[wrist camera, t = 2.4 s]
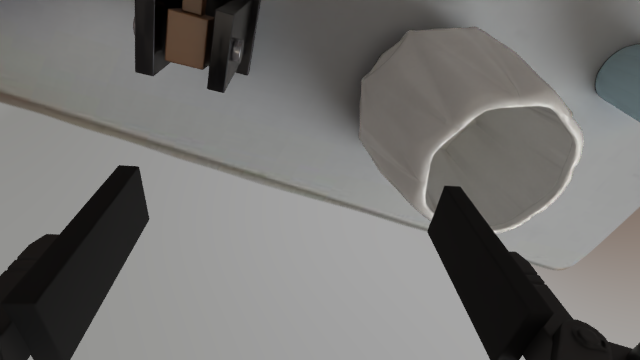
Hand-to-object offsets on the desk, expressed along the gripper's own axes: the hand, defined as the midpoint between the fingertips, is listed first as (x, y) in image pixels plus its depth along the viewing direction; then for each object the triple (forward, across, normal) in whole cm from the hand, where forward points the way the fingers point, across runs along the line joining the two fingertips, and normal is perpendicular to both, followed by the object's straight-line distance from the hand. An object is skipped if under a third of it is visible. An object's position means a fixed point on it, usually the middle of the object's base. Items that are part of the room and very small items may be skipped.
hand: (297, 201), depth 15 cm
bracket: (+20, -7, +4) cm, 21 cm away
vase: (+20, +12, -1) cm, 24 cm away
